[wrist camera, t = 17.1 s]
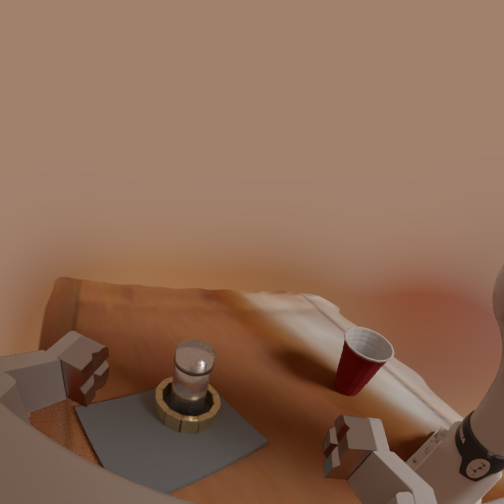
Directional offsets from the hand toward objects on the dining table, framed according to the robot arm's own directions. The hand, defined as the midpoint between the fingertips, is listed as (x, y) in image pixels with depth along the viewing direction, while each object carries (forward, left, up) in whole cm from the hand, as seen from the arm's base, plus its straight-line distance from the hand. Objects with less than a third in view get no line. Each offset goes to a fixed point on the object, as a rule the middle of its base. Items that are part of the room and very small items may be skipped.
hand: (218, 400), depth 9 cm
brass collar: (-16, -19, -30) cm, 39 cm away
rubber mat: (-11, -17, -30) cm, 36 cm away
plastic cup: (-47, -8, -30) cm, 57 cm away
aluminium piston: (-16, -19, -29) cm, 38 cm away
